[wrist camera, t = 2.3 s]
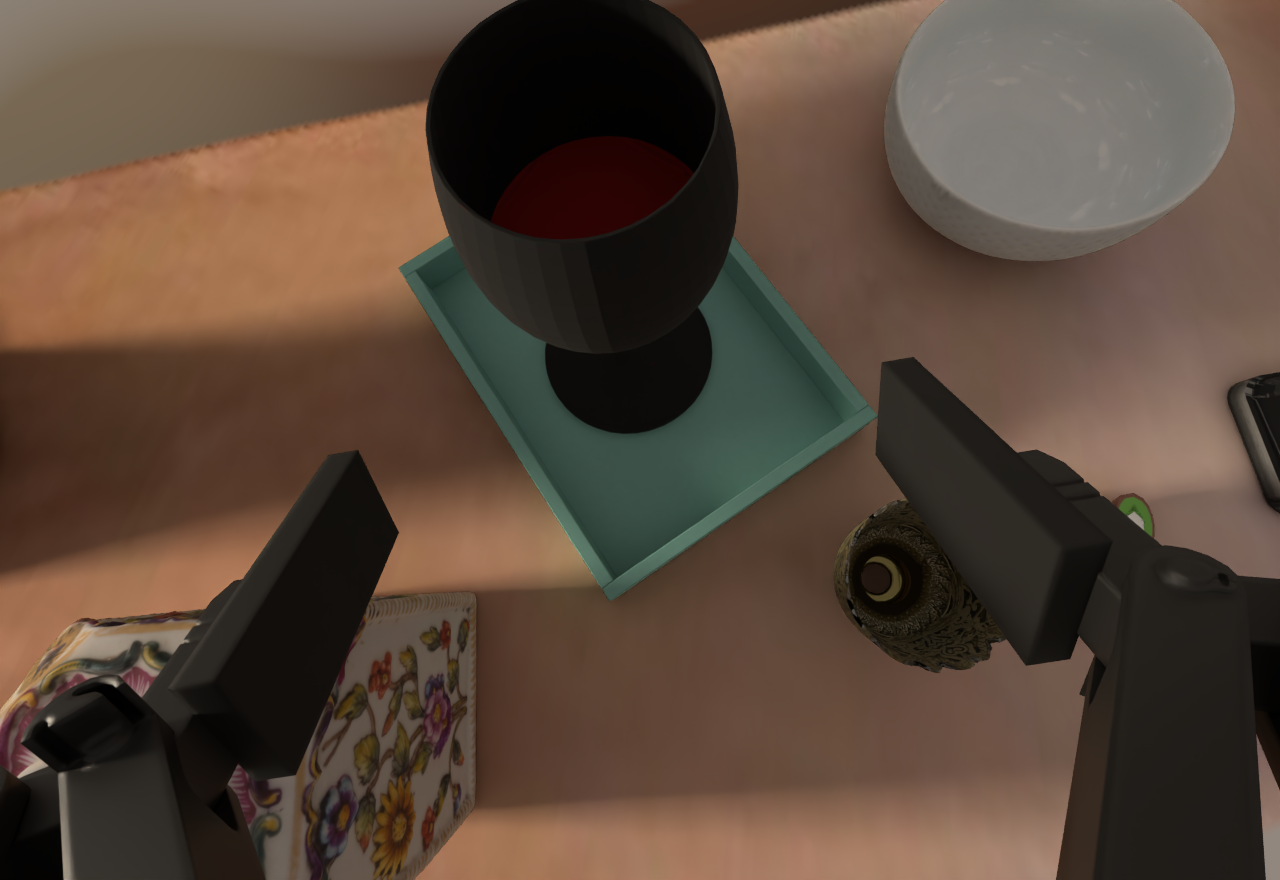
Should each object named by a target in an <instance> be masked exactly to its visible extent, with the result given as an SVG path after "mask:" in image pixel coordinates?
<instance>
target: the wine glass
mask: <svg viewBox="0 0 1280 880" xmlns="http://www.w3.org/2000/svg"><path fill="white" fill-rule="evenodd" d="M426 137H427V144H428V152H429V159H430V165H431V171H432V176H433V181H434V186H435V191H436V194H437V198H438V201H439V205H440V208H441V211H442V215H443V218H444V221H445V224H446V228H447V230H448V233H449V235H450V238H451V240H452V243H453V245H454V247H455V249H456V251H457V253H458V255H459V256H460V258H461V260H462V262H463V264H464V266H465V268H466V269H467V271H468V273H469V275H470V277H471V278H472V279H473V281H474V282H475V283H476V285H477V286H478V287H479V289H480V290H481V291H482V292H483V294H484V295H485V296H486V298H487V299H488V300H489V302H490V303H491V304H492V305H493V306H494V307H495V308H496V309H497V310H499V311H500V312H501V313H502V314H503V315H504V316H505V317H506V318H507V319H508V320H510V321H511V322H512V323H513V324H515V325H516V326H518V327H519V328H521V329H522V330H524V331H525V332H527V333H528V334H530V335H532V336H533V337H535V338H537V339H539V340H542V341H544V342H546V347H545V364H546V370H547V375H548V378H549V381H550V384H551V386H552V388H553V390H554V392H555V394H556V395H557V397H558V398H559V400H560V401H561V402H562V404H563V405H564V406H565V408H567V409H568V410H569V411H570V412H571V413H572V414H573V415H574V416H575V417H577V418H578V419H580V420H581V421H583V422H584V423H586V424H588V425H590V426H592V427H595V428H597V429H600V430H604V431H607V432H612V433H621V434H632V433H641V432H646V431H651V430H654V429H656V428H659V427H662V426H664V425H666V424H668V423H670V422H671V421H673V420H675V419H676V418H678V417H679V416H680V415H681V414H683V413H684V412H685V411H686V410H687V409H688V408H689V407H690V406H691V405H692V404H693V403H694V402H695V400H696V399H697V397H698V396H699V395H700V393H701V392H702V390H703V388H704V386H705V383H706V381H707V379H708V376H709V372H710V369H711V363H712V340H711V335H710V331H709V327H708V325H707V322H706V320H705V318H704V316H703V314H702V312H701V311H700V309H699V308H698V306H699V305H700V304H701V302H702V301H703V300H704V298H705V297H706V295H707V294H708V293H709V291H710V290H711V288H712V287H713V285H714V283H715V281H716V279H717V277H718V275H719V273H720V271H721V269H722V267H723V265H724V263H725V260H726V257H727V254H728V251H729V247H730V244H731V241H732V237H733V234H734V229H735V223H736V214H737V203H738V173H737V160H736V148H735V142H734V137H733V131H732V127H731V123H730V119H729V115H728V111H727V107H726V103H725V100H724V96H723V92H722V88H721V85H720V82H719V79H718V76H717V73H716V70H715V68H714V65H713V63H712V61H711V59H710V57H709V55H708V53H707V50H706V49H705V47H704V46H703V45H702V43H701V42H700V41H699V39H698V38H697V36H696V35H695V34H694V33H693V32H692V31H691V30H690V29H689V28H688V27H687V26H686V25H685V24H684V23H683V22H682V21H681V20H680V19H679V18H678V17H676V16H675V15H673V14H672V13H670V12H669V11H668V10H666V9H665V8H663V7H661V6H659V5H657V4H655V3H653V2H651V1H649V0H517V1H515V2H513V3H511V4H510V5H508V6H506V7H504V8H502V9H501V10H499V11H497V12H495V13H494V14H492V15H491V16H489V17H488V18H486V19H485V20H483V21H482V22H480V23H479V24H478V25H477V26H476V27H475V28H474V29H472V30H471V31H470V32H469V33H468V34H467V35H466V36H465V37H464V38H463V39H462V40H461V41H460V43H459V44H458V45H457V46H456V47H455V49H454V50H453V51H452V52H451V53H450V55H449V57H448V58H447V60H446V61H445V63H444V64H443V66H442V67H441V69H440V71H439V73H438V76H437V78H436V80H435V83H434V85H433V88H432V90H431V94H430V98H429V102H428V106H427V114H426Z"/></svg>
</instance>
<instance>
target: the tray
mask: <svg viewBox="0 0 1280 880" xmlns="http://www.w3.org/2000/svg"><path fill="white" fill-rule="evenodd" d="M399 270H400V272H401V273H402V275H403V276H404V278H405V280H406V281H407V283H408V284H409V286H410V287H411V289H412V291H413V292H414V294H415V295H416V297H417V298H418V300H419V302H420V303H421V305H422V306H423V308H424V310H425V311H426V313H427V314H428V316H429V317H430V319H431V321H432V322H433V324H434V325H435V327H436V328H437V330H438V332H439V333H440V335H441V336H442V338H443V340H444V341H445V343H446V344H447V346H448V347H449V349H450V351H451V352H452V354H453V355H454V357H455V358H456V360H457V362H458V363H459V365H460V366H461V368H462V370H463V371H464V373H465V374H466V376H467V377H468V379H469V381H470V382H471V384H472V385H473V387H474V388H475V390H476V392H477V393H478V395H479V396H480V398H481V400H482V401H483V403H484V404H485V406H486V407H487V409H488V411H489V412H490V414H491V415H492V417H493V418H494V420H495V422H496V423H497V425H498V426H499V428H500V430H501V431H502V433H503V434H504V436H505V437H506V439H507V441H508V442H509V444H510V445H511V447H512V448H513V450H514V452H515V453H516V455H517V456H518V458H519V459H520V461H521V463H522V464H523V466H524V467H525V469H526V471H527V472H528V474H529V475H530V477H531V478H532V480H533V482H534V483H535V485H536V486H537V488H538V489H539V491H540V493H541V494H542V496H543V497H544V499H545V501H546V502H547V504H548V505H549V507H550V508H551V510H552V512H553V513H554V515H555V516H556V518H557V519H558V521H559V523H560V524H561V526H562V527H563V529H564V531H565V532H566V534H567V535H568V537H569V538H570V540H571V542H572V543H573V545H574V546H575V548H576V549H577V551H578V553H579V554H580V556H581V557H582V559H583V561H584V562H585V564H586V565H587V567H588V568H589V570H590V572H591V573H592V575H593V576H594V578H595V579H596V581H597V583H598V584H599V586H600V587H601V588H602V590H603V592H604V594H605V595H606V597H607V598H608V600H609V601H612V600H614V599H616V598H618V597H619V596H621V595H622V594H623V593H625V592H626V591H628V590H629V589H631V588H632V587H634V586H635V585H637V584H638V583H639V582H641V581H642V580H644V579H645V578H647V577H648V576H650V575H651V574H652V573H654V572H655V571H657V570H658V569H660V568H661V567H663V566H664V565H666V564H667V563H668V562H670V561H671V560H673V559H674V558H676V557H677V556H679V555H680V554H681V553H683V552H684V551H686V550H687V549H689V548H690V547H692V546H693V545H694V544H696V543H697V542H699V541H700V540H702V539H703V538H705V537H706V536H708V535H709V534H710V533H712V532H713V531H715V530H716V529H718V528H719V527H721V526H722V525H723V524H725V523H726V522H728V521H729V520H731V519H732V518H734V517H735V516H736V515H738V514H739V513H741V512H742V511H744V510H745V509H747V508H748V507H750V506H751V505H752V504H754V503H755V502H757V501H758V500H760V499H761V498H763V497H764V496H765V495H767V494H768V493H770V492H771V491H773V490H774V489H776V488H777V487H779V486H780V485H781V484H783V483H784V482H786V481H787V480H789V479H790V478H792V477H793V476H794V475H796V474H797V473H799V472H800V471H802V470H803V469H805V468H806V467H807V466H809V465H810V464H812V463H813V462H815V461H816V460H818V459H819V458H821V457H822V456H823V455H825V454H826V453H828V452H829V451H831V450H832V449H834V448H835V447H836V446H838V445H839V444H841V443H842V442H844V441H845V440H847V439H848V438H850V437H851V436H852V435H854V434H855V433H857V432H858V431H860V430H861V429H863V428H864V427H865V426H866V425H868V424H869V423H870V422H872V421H873V420H874V419H875V418H877V414H876V413H875V412H874V410H873V409H872V408H871V407H870V406H868V403H867V402H866V400H865V399H864V398H863V397H862V395H861V394H860V393H859V392H858V390H857V389H856V388H855V387H854V385H853V384H852V383H851V382H850V380H849V379H848V378H847V377H846V376H845V374H844V373H843V372H842V371H841V369H840V368H839V367H838V366H837V364H836V363H835V362H834V361H833V359H832V358H831V357H830V356H829V354H828V353H827V352H826V351H825V349H824V348H823V347H822V346H821V344H820V343H819V342H818V341H817V340H816V338H815V337H814V336H813V335H812V333H811V332H810V331H809V330H808V328H807V327H806V326H805V325H804V323H803V322H802V321H801V320H800V318H799V317H798V316H797V315H796V313H795V312H794V311H793V310H792V308H791V307H790V306H789V305H788V304H787V302H786V301H785V300H784V299H783V297H782V296H781V295H780V294H779V292H778V291H777V290H776V289H775V287H774V286H773V285H772V284H771V282H770V281H769V280H768V279H767V277H766V276H765V275H764V274H763V273H762V271H761V270H760V269H759V268H758V266H757V265H756V264H755V263H754V261H753V260H752V259H751V258H750V256H749V255H748V254H747V253H746V251H745V250H744V249H743V248H742V246H741V245H740V244H739V243H738V241H737V240H736V239H735V238H734V237H732V241H731V244H730V247H729V251H728V254H727V257H726V260H725V263H724V265H723V267H722V269H721V271H720V273H719V275H718V277H717V279H716V281H715V283H714V285H713V287H712V288H711V290H710V291H709V293H708V294H707V295H706V297H705V298H704V300H703V301H702V302H701V304H700V305H699V306H698V308H699V309H700V311H701V312H702V314H703V316H704V318H705V320H706V322H707V325H708V327H709V331H710V335H711V340H712V363H711V369H710V372H709V376H708V379H707V381H706V383H705V386H704V388H703V390H702V392H701V393H700V395H699V396H698V397H697V399H696V400H695V402H694V403H693V404H692V405H691V406H690V407H689V408H688V409H687V410H686V411H685V412H684V413H683V414H681V415H680V416H679V417H678V418H676V419H675V420H673V421H671V422H670V423H668V424H666V425H664V426H662V427H659V428H656V429H654V430H651V431H646V432H641V433H632V434H621V433H612V432H607V431H604V430H600V429H597V428H595V427H592V426H590V425H588V424H586V423H584V422H583V421H581V420H580V419H578V418H577V417H575V416H574V415H573V414H572V413H571V412H570V411H569V410H568V409H567V408H565V406H564V405H563V404H562V402H561V401H560V400H559V398H558V397H557V395H556V394H555V392H554V390H553V388H552V386H551V384H550V381H549V378H548V375H547V370H546V364H545V347H546V342H544V341H542V340H539V339H537V338H535V337H533V336H532V335H530V334H528V333H527V332H525V331H524V330H522V329H521V328H519V327H518V326H516V325H515V324H513V323H512V322H511V321H510V320H508V319H507V318H506V317H505V316H504V315H503V314H502V313H501V312H500V311H499V310H497V309H496V308H495V307H494V306H493V305H492V304H491V303H490V302H489V300H488V299H487V298H486V296H485V295H484V294H483V292H482V291H481V290H480V289H479V287H478V286H477V285H476V283H475V282H474V281H473V279H472V278H471V277H470V275H469V273H468V271H467V269H466V268H465V266H464V264H463V262H462V260H461V258H460V256H459V255H458V253H457V251H456V249H455V247H454V245H453V243H452V240H451V238H450V236H448V237H447V238H445V239H444V240H442V241H440V242H439V243H437V244H436V245H434V246H432V247H431V248H429V249H428V250H426V251H424V252H423V253H421V254H420V255H418V256H416V257H415V258H413V259H412V260H410V261H408V262H407V263H405V264H404V265H402V266H401V267H399Z"/></svg>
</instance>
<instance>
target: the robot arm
mask: <svg viewBox="0 0 1280 880" xmlns="http://www.w3.org/2000/svg"><path fill="white" fill-rule="evenodd" d="M876 457H877V458H878V459H879V461H880V462H881V464H882V465H883V466H884V468H885V469H886V471H887V472H888V473H889V475H890V476H891V478H892V479H893V480H894V482H895V483H896V485H897V486H898V487H899V489H900V490H901V492H902V493H903V494H904V496H905V497H906V499H907V500H908V501H909V503H910V504H911V506H912V507H913V508H914V510H915V511H916V513H917V514H918V515H919V517H920V518H921V520H922V521H923V522H924V524H925V525H926V527H927V528H928V529H929V531H930V532H931V534H932V535H933V536H934V538H935V539H936V541H937V542H938V543H939V545H940V546H941V548H942V549H943V550H944V552H945V553H946V555H947V556H948V557H949V559H950V560H951V562H952V563H953V564H954V566H955V567H956V569H957V570H958V571H959V573H960V574H961V576H962V577H963V578H964V580H965V581H966V583H967V584H968V585H969V587H970V588H971V590H972V591H973V592H974V594H975V595H976V597H977V598H978V599H979V601H980V602H981V604H982V605H983V606H984V608H985V609H986V611H987V612H988V613H989V615H990V616H991V618H992V619H993V620H994V622H995V623H996V625H997V626H998V627H999V629H1000V630H1001V632H1002V633H1003V634H1004V636H1005V637H1006V639H1007V640H1008V641H1009V643H1010V644H1011V646H1012V647H1013V648H1014V650H1015V651H1016V653H1017V654H1018V655H1019V657H1020V658H1021V660H1022V661H1023V662H1024V664H1025V665H1026V666H1027V665H1034V664H1041V663H1047V662H1054V661H1061V660H1067V659H1070V658H1071V656H1072V653H1073V650H1074V647H1075V645H1076V642H1077V639H1078V636H1080V638H1081V639H1082V640H1083V641H1084V642H1085V644H1086V645H1087V646H1088V647H1089V648H1090V649H1091V651H1092V652H1093V653H1094V654H1095V656H1094V658H1093V661H1092V663H1091V666H1090V669H1089V671H1088V674H1087V676H1086V679H1085V681H1084V684H1083V686H1082V689H1081V691H1080V695H1082V696H1085V702H1084V708H1083V715H1082V721H1081V727H1080V733H1079V740H1078V746H1077V752H1076V758H1075V765H1074V771H1073V777H1072V783H1071V790H1070V796H1069V802H1068V808H1067V815H1066V821H1065V827H1064V833H1063V839H1062V846H1061V852H1060V858H1059V864H1058V871H1057V877H1056V880H1266V877H1265V862H1264V846H1263V831H1262V816H1261V801H1260V785H1259V770H1258V755H1257V740H1256V734H1257V737H1258V739H1259V741H1260V744H1261V746H1262V749H1263V751H1264V753H1265V756H1266V758H1267V761H1268V763H1269V765H1270V768H1271V770H1272V773H1273V775H1274V777H1275V780H1276V782H1277V785H1278V787H1279V789H1280V579H1271V578H1259V577H1246V576H1237V575H1236V574H1235V573H1234V572H1233V571H1232V570H1231V569H1230V568H1229V567H1228V566H1226V565H1224V564H1223V563H1221V562H1219V561H1217V560H1215V559H1214V558H1212V557H1210V556H1208V555H1205V554H1202V553H1199V552H1196V551H1193V550H1190V549H1187V548H1180V547H1173V546H1162V545H1161V544H1159V543H1158V542H1157V541H1156V540H1155V539H1154V538H1152V537H1151V536H1150V535H1149V534H1148V533H1147V532H1145V531H1144V530H1143V529H1142V528H1141V527H1140V526H1138V525H1137V524H1136V523H1135V522H1134V521H1132V520H1131V519H1130V518H1129V517H1128V516H1127V515H1125V514H1124V513H1123V512H1122V511H1121V510H1120V509H1118V508H1117V507H1116V506H1115V505H1114V504H1112V503H1111V502H1110V501H1109V500H1108V499H1107V498H1105V497H1104V496H1100V492H1098V491H1097V490H1096V489H1095V488H1094V487H1092V486H1091V485H1090V484H1089V483H1088V482H1084V479H1083V478H1082V477H1081V476H1080V475H1078V474H1077V473H1076V472H1075V471H1074V470H1072V469H1071V468H1070V467H1069V466H1068V465H1067V464H1065V463H1064V462H1062V461H1060V460H1058V459H1056V458H1054V457H1052V456H1049V455H1047V454H1045V453H1043V452H1041V451H1039V450H1031V451H1025V452H1019V453H1017V452H1015V451H1014V450H1013V449H1012V448H1011V447H1010V446H1009V445H1008V444H1007V443H1006V442H1005V441H1004V440H1002V439H1001V438H1000V437H999V436H998V435H997V434H996V433H995V432H994V431H993V430H992V429H991V428H989V427H988V426H987V425H986V424H985V423H984V422H983V421H982V420H981V419H980V418H979V417H978V416H976V415H975V414H974V413H973V412H972V411H971V410H970V409H969V408H968V407H967V406H966V405H965V404H963V403H962V402H961V401H960V400H959V399H958V398H957V397H956V396H955V395H954V394H953V393H952V392H950V391H949V390H948V389H947V388H946V387H945V386H944V385H943V384H942V383H941V382H940V381H939V380H937V379H936V378H935V377H934V376H933V375H932V374H931V373H930V372H929V371H928V370H927V369H926V368H924V367H923V366H922V365H921V364H920V363H919V362H918V361H917V360H916V359H915V358H914V357H911V358H905V359H899V360H893V361H887V362H882V367H881V382H880V396H879V411H878V426H877V440H876ZM398 533H399V532H398V530H397V528H396V526H395V524H394V522H393V520H392V518H391V516H390V514H389V512H388V510H387V508H386V506H385V504H384V502H383V500H382V497H381V495H380V493H379V491H378V489H377V487H376V485H375V483H374V481H373V479H372V477H371V475H370V473H369V471H368V469H367V467H366V465H365V463H364V461H363V459H362V457H361V455H360V453H359V451H358V450H356V451H350V452H344V453H338V454H332V455H328V456H327V458H326V459H325V461H324V462H323V464H322V465H321V467H320V468H319V469H318V471H317V472H316V474H315V475H314V477H313V478H312V480H311V481H310V482H309V484H308V485H307V487H306V488H305V490H304V491H303V493H302V494H301V496H300V497H299V498H298V500H297V501H296V503H295V504H294V506H293V507H292V509H291V510H290V512H289V513H288V514H287V516H286V517H285V519H284V520H283V522H282V523H281V525H280V526H279V527H278V529H277V530H276V532H275V533H274V535H273V536H272V538H271V539H270V541H269V542H268V543H267V545H266V546H265V548H264V549H263V551H262V552H261V554H260V555H259V556H258V558H257V559H256V561H255V562H254V564H253V565H252V567H251V568H250V570H249V571H248V572H247V574H246V575H245V577H244V578H243V579H242V580H236V581H233V582H232V583H231V584H230V585H229V586H228V587H227V588H225V589H224V590H223V591H222V592H221V593H220V594H219V595H218V596H216V597H215V598H214V599H213V600H212V601H211V602H210V604H209V605H208V606H207V608H206V609H205V611H204V612H203V613H202V615H201V616H200V617H199V619H198V620H197V622H196V623H197V625H196V626H193V627H192V629H191V630H190V631H189V633H188V634H187V636H186V637H185V638H184V643H183V644H180V645H179V647H178V648H177V649H176V651H175V652H174V654H173V655H172V656H171V658H170V659H169V661H168V662H167V663H166V665H165V666H164V667H163V669H162V670H161V672H160V673H159V674H158V676H157V677H156V679H155V680H154V681H153V683H152V684H151V686H150V687H149V688H148V690H147V691H146V692H145V694H144V695H143V697H142V698H141V697H140V696H139V695H138V694H137V693H136V692H135V691H134V690H133V689H132V688H131V687H130V686H129V685H128V684H127V683H126V682H125V681H124V680H123V679H122V678H121V677H120V676H119V675H112V674H106V675H101V676H97V677H93V678H90V679H88V680H86V681H84V682H82V683H79V684H77V685H75V686H73V687H71V688H70V689H68V690H67V691H65V692H64V693H62V694H61V695H59V696H58V697H56V698H55V699H53V700H52V701H51V702H50V703H49V704H48V705H46V706H45V707H44V708H43V709H42V710H41V711H40V712H39V713H38V714H36V716H35V717H34V718H33V720H32V721H31V722H30V724H29V725H28V726H27V728H26V729H25V730H24V733H23V736H22V739H21V742H20V744H22V745H23V746H24V747H25V748H27V749H28V750H29V751H31V752H32V753H33V754H34V755H36V756H37V757H38V758H39V759H41V760H42V761H43V762H44V763H46V764H47V765H48V766H47V767H45V768H42V769H40V770H37V771H35V772H33V773H30V774H28V775H25V776H23V777H20V778H18V777H16V776H15V775H14V774H12V773H11V772H10V771H8V770H7V769H6V768H4V767H3V766H1V765H0V880H266V879H265V876H264V873H263V870H262V867H261V864H260V861H259V858H258V855H257V852H256V849H255V846H254V843H253V840H252V837H251V834H250V831H249V828H248V825H247V822H246V819H245V817H244V814H243V811H242V808H241V805H240V802H239V799H238V796H237V794H236V793H235V792H234V790H233V789H232V788H231V787H230V786H229V785H228V782H229V781H230V779H231V777H232V775H233V773H234V771H235V769H236V767H237V765H238V764H239V765H240V766H241V767H242V768H243V769H244V770H245V772H246V773H247V774H248V775H249V776H250V777H251V778H252V779H253V780H254V781H262V780H268V779H275V778H282V777H288V776H295V775H296V774H297V771H298V769H299V767H300V764H301V762H302V760H303V757H304V755H305V753H306V750H307V748H308V746H309V743H310V741H311V738H312V736H313V734H314V731H315V729H316V727H317V724H318V722H319V720H320V717H321V715H322V713H323V710H324V708H325V705H326V703H327V701H328V698H329V696H330V694H331V691H332V689H333V687H334V684H335V682H336V680H337V677H338V675H339V672H340V670H341V668H342V665H343V663H344V661H345V658H346V656H347V654H348V651H349V649H350V647H351V644H352V642H353V639H354V637H355V635H356V632H357V630H358V628H359V625H360V623H361V621H362V618H363V616H364V614H365V611H366V609H367V606H368V604H369V602H370V599H371V597H372V595H373V592H374V590H375V588H376V585H377V583H378V581H379V578H380V576H381V573H382V571H383V569H384V566H385V564H386V562H387V559H388V557H389V555H390V552H391V550H392V548H393V545H394V543H395V540H396V538H397V536H398Z"/></svg>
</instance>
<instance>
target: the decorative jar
mask: <svg viewBox="0 0 1280 880" xmlns="http://www.w3.org/2000/svg"><path fill="white" fill-rule="evenodd" d="M476 607H477V604H476V596H475V594H474V593H472V592H452V593H427V594H409V595H392V596H381V597H371V599H370V602H369V604H368V606H367V609H366V611H365V614H364V616H363V618H362V621H361V623H360V625H359V628H358V630H357V632H356V635H355V637H354V639H353V642H352V644H351V647H350V649H349V651H348V654H347V656H346V658H345V661H344V663H343V665H342V668H341V670H340V672H339V675H338V677H337V680H336V682H335V684H334V687H333V689H332V691H331V694H330V696H329V698H328V701H327V703H326V705H325V708H324V710H323V713H322V715H321V717H320V720H319V722H318V724H317V727H316V729H315V731H314V734H313V736H312V738H311V741H310V743H309V746H308V748H307V750H306V753H305V755H304V757H303V760H302V762H301V764H300V767H299V769H298V771H297V774H296V775H295V776H288V777H282V778H275V779H268V780H262V781H254V780H253V779H252V778H251V777H250V776H249V775H248V774H247V773H246V772H245V770H244V769H243V768H242V767H241V766H240V765H239V764H238V765H237V767H236V769H235V771H234V773H233V775H232V777H231V779H230V781H229V782H228V785H229V786H230V787H231V788H232V789H233V790H234V792H235V793H236V794H237V796H238V799H239V802H240V805H241V808H242V811H243V814H244V817H245V819H246V822H247V825H248V828H249V831H250V834H251V837H252V840H253V843H254V846H255V849H256V852H257V855H258V858H259V861H260V864H261V867H262V870H263V873H264V876H265V879H266V880H414V879H415V878H416V877H417V876H418V875H419V874H420V873H421V872H422V871H423V870H424V868H425V867H426V866H427V865H428V864H429V863H430V861H431V860H432V859H433V858H434V856H435V855H436V854H437V853H438V852H439V851H440V849H441V848H442V847H443V846H444V845H445V844H446V842H447V841H448V840H449V839H450V838H451V837H452V835H453V834H454V833H455V831H456V830H457V829H458V828H459V826H460V825H461V824H462V823H463V821H464V820H465V819H466V818H467V816H468V815H469V814H470V813H471V812H472V810H473V808H474V805H475V791H476V756H475V754H476V749H475V741H476ZM204 611H205V609H203V610H201V609H199V610H191V611H180V612H176V611H173V612H170V613H161V614H150V615H141V616H130V617H124V618H115V619H114V618H106V619H99V620H95V619H90V618H81V619H79V620H77V621H76V622H74V623H73V624H72V625H70V626H69V627H68V628H66V629H65V630H64V631H63V632H62V633H61V634H60V635H59V637H58V638H57V639H56V641H55V642H54V643H53V644H52V645H51V646H50V647H49V648H48V649H47V651H46V652H45V653H44V654H43V655H42V656H41V657H40V658H39V659H38V660H37V661H36V663H35V664H34V666H33V667H32V668H31V670H30V671H29V673H28V675H27V676H26V678H25V679H24V681H23V682H22V684H21V685H20V687H19V688H18V689H17V690H16V692H15V693H14V694H13V695H12V696H11V698H10V699H9V700H8V701H7V702H6V703H5V705H4V706H3V707H2V708H1V710H0V765H1V766H3V767H4V768H6V769H7V770H8V771H10V772H11V773H12V774H14V775H15V776H16V777H18V778H20V777H23V776H25V775H28V774H30V773H33V772H35V771H37V770H40V769H42V768H45V767H47V766H48V765H47V764H46V763H44V762H43V761H42V760H41V759H39V758H38V757H37V756H36V755H34V754H33V753H32V752H31V751H29V750H28V749H27V748H25V747H24V746H23V745H22V744H20V742H21V739H22V736H23V733H24V730H25V729H26V728H27V726H28V725H29V724H30V722H31V721H32V720H33V718H34V717H35V716H36V714H38V713H39V712H40V711H41V710H42V709H43V708H44V707H45V706H46V705H48V704H49V703H50V702H51V701H52V700H53V699H55V698H56V697H58V696H59V695H61V694H62V693H64V692H65V691H67V690H68V689H70V688H71V687H73V686H75V685H77V684H79V683H82V682H84V681H86V680H88V679H90V678H93V677H97V676H101V675H106V674H112V675H119V676H120V677H121V678H122V679H123V680H124V681H125V682H126V683H127V684H128V685H129V686H130V687H131V688H132V689H133V690H134V691H135V692H136V693H137V694H138V695H139V696H140V697H141V698H142V697H143V695H144V694H145V692H146V691H147V690H148V688H149V687H150V686H151V684H152V683H153V681H154V680H155V679H156V677H157V676H158V674H159V673H160V672H161V670H162V669H163V667H164V666H165V665H166V663H167V662H168V661H169V659H170V658H171V656H172V655H173V654H174V652H175V651H176V649H177V648H178V647H179V645H180V644H183V643H184V638H185V637H186V636H187V634H188V633H189V631H190V630H191V629H192V627H193V626H196V625H197V623H196V622H197V620H198V619H199V617H200V616H201V615H202V613H203V612H204Z"/></svg>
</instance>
